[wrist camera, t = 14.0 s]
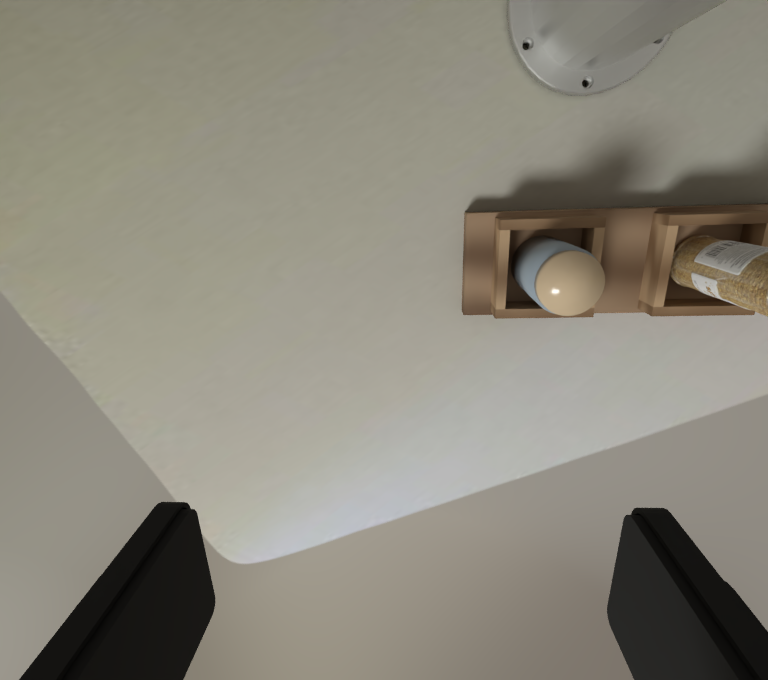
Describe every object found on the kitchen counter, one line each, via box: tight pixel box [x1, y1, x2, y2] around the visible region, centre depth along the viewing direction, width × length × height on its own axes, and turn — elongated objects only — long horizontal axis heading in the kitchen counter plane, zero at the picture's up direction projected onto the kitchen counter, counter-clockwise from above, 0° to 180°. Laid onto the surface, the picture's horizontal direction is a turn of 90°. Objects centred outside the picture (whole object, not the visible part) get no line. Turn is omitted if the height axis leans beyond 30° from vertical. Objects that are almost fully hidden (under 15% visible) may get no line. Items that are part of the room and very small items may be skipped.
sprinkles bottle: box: [670, 235, 768, 316], centre depth 32 cm, size 5×5×13 cm
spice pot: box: [511, 235, 605, 316], centre depth 35 cm, size 5×5×8 cm
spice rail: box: [462, 204, 768, 318], centre depth 38 cm, size 9×26×4 cm, turn 92°
